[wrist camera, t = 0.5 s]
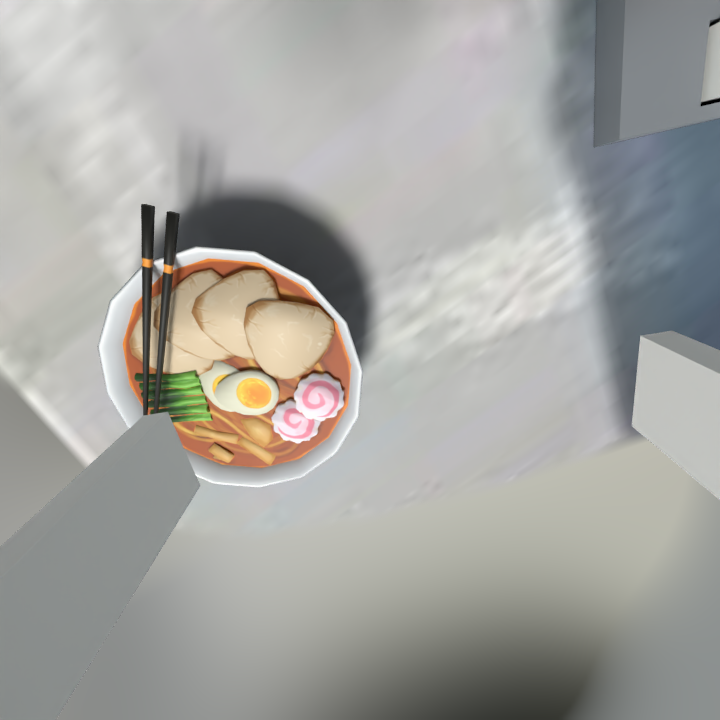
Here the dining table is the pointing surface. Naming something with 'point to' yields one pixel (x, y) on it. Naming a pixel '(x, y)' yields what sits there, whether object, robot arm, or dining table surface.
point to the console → (650, 66)
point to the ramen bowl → (231, 360)
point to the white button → (712, 66)
